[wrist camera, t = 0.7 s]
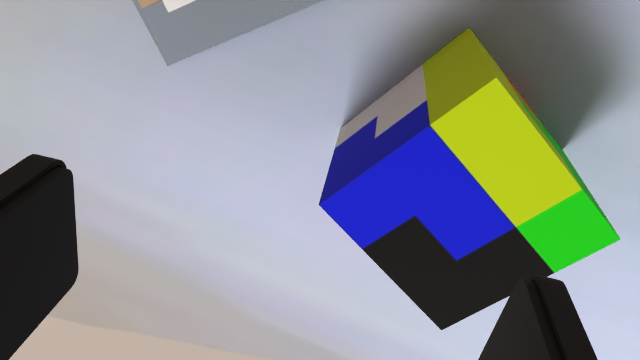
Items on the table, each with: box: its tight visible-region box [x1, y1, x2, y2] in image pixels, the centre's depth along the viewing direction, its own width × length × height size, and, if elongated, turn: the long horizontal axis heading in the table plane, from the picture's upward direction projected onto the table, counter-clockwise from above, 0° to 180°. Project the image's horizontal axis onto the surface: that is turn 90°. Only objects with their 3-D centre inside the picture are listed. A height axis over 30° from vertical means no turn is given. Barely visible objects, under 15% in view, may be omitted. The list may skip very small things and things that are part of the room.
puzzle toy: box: [319, 28, 620, 330], centre depth 29 cm, size 10×10×10 cm
